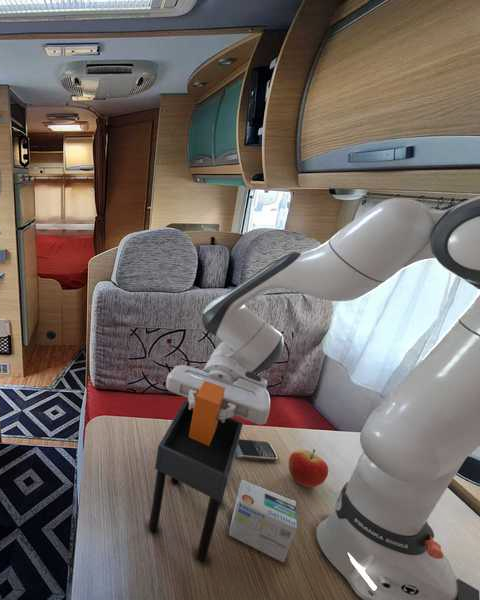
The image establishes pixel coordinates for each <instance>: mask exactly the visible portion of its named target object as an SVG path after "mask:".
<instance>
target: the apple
mask: <svg viewBox="0 0 480 600" xmlns="http://www.w3.org/2000/svg"><path fill="white" fill-rule="evenodd" d="M315 452H316V450H315V448H313V452H312V451H309V450H307V449H306V450H305V449H296V450H294V451H292V453H290V456H289V459H288V471H289V474H290V476H291V477H292V479H293V480H294V482H296V483H297V484H299V485H301V486H303V487H306V488H315V487H318V486H320V485H321V484H324V482H325V481H326V480H327V478H328V475H329V466H328V464H327V462H326V461H325V460H324V459H323V458H321V457H320V456H318V455H317V454H315Z"/></svg>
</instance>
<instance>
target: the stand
mask: <svg viewBox="0 0 480 600" xmlns="http://www.w3.org/2000/svg"><path fill="white" fill-rule="evenodd" d="M166 476H167V475H166V474H164V473H162V472H160V471H158V470H156V477H155V483H154V489H153V490H154V491H153V496H152V505H151V511H150V518H149V525H148V530H150V531H151V532H152V533H156V532H157V531H158V530H159V529H158V528H159V521H160V516H161V509H162V503H163V496H164V491H165V483H166V478H167V477H166ZM170 478H171V479H170V481H171V483H172V484H174V485H177V484H179V482H180V481H178V480H176V479H174V478H172V477H170ZM226 488H227V487H226ZM226 488H225V490H226ZM224 496H225V494H224V495H223V497H224ZM223 501H224V498H223V499H222V502H219V501H217V500H215V499H213V498H211V497H209V501H208V504H207V509H206V513H205V517H204V523H203V526H202V531H201V535H200V539H199V544H198V549H197V553H196V558H197V560H198V561H199V562H200V563H205V562H206V561H207V558H208V554H209V549H210V545H211V542H212V538H213V533H214V530H215V525H216V521H217V517H218V515H219V514H218V513H219V509H220V507H221V506H222V504H223Z"/></svg>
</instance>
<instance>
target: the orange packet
mask: <svg viewBox="0 0 480 600" xmlns="http://www.w3.org/2000/svg"><path fill="white" fill-rule="evenodd" d="M224 392H225V388H224V387H222V386H219V385H216V384H213V383H210V382H207V381H204V383H203V384H202V386H201V388H200V390H199V392H198V394H197V396H196V400H195V405H194V411H193V416H192V421H191V427H190V432H189V438H191V439H194V440H196V441H198V442H201V443H203V444H205V445H207V446H210V443H211V441H212V438H213V435H214V433H215V430H216V428H217V423H218V420H216V419H217V415H218V412H219V409H221V405H222V401H223V396H224Z"/></svg>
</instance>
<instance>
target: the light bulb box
mask: <svg viewBox="0 0 480 600" xmlns="http://www.w3.org/2000/svg"><path fill="white" fill-rule="evenodd" d="M237 491H238V492H237V496H236V498H235V499H236V500H235V504H234V508H233V511H232V516H231V522H230V528H229V531H228V532H229V533H228V536H229V537H231V538H234V539H235V540H237V541H240V542H241V543H244V544H245V545H247V546H250V547H251V548H253V549H255V550H258V551H259V552H261V553H263V554H265V555H267V556H269V557H271V558H273V559H275V560H277V561H279V562H281V563H282V564H283V563H285V562H286V561H285V560H286V559H287V555H288V552H289V549H290V547H291V545H292V542H293V539H294V536H295V534H296V531H297V527H298V526H297V524H298V522H297V501H296V500H295V499H293V498H289V497H286V496H285V495H281V494H279V493H276V492H275V491H274V492H273V491H271V490H269V489H266V488H264V487H261V486H259V485H257V484H254V483H253V482H250V481H248V480H245V479H242V478H241V480H240V484H239V488H238V490H237Z"/></svg>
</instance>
